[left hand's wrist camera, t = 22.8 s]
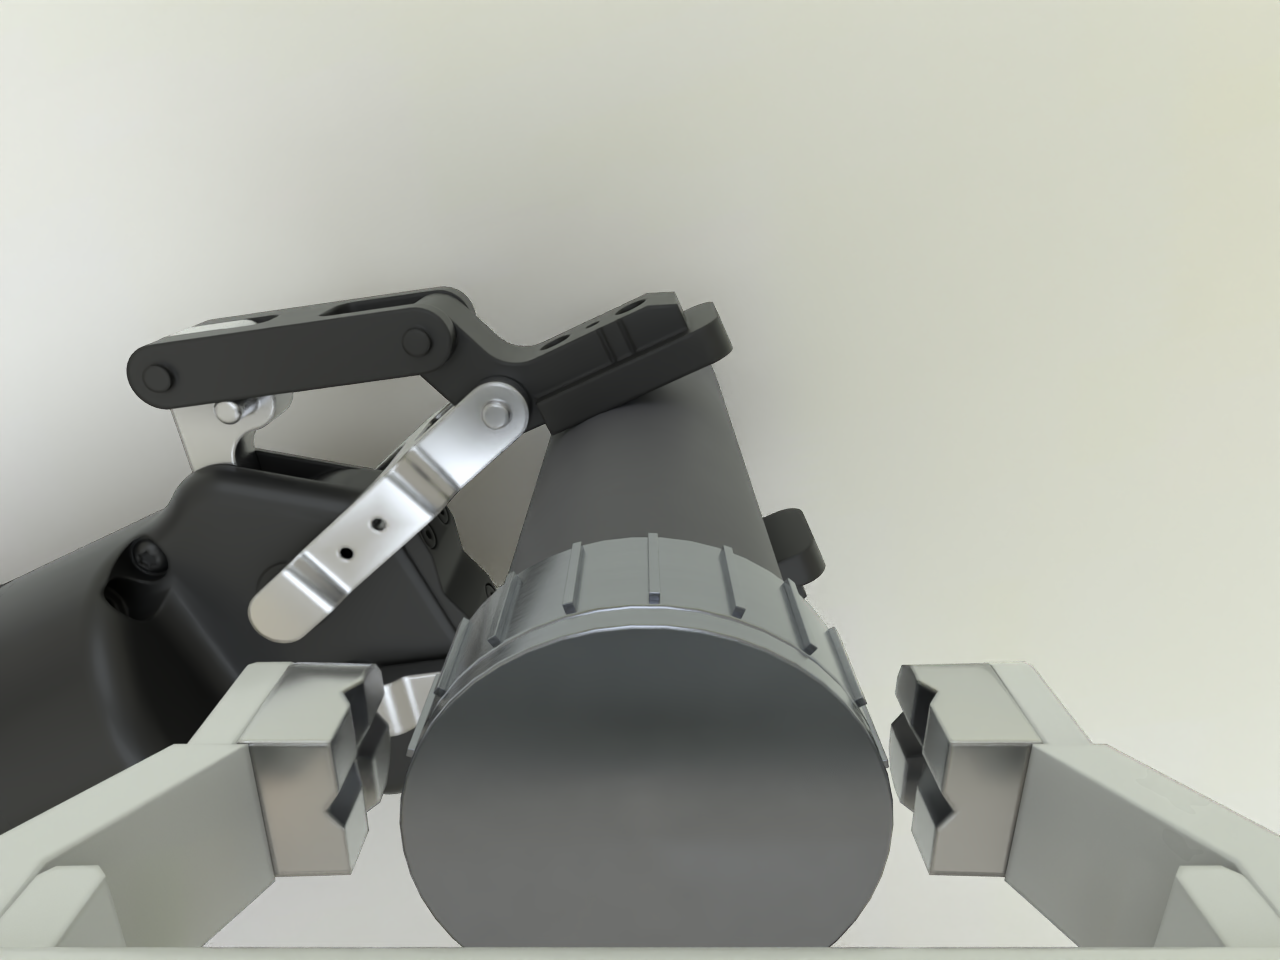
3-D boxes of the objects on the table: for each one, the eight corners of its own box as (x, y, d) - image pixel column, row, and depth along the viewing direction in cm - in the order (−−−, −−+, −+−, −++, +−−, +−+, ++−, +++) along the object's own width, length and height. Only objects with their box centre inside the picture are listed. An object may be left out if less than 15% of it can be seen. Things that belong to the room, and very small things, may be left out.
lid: (625, 938, 12) (623, 1082, 10) (345, 703, 10) (284, 819, 9) (937, 738, 11) (999, 861, 9) (667, 439, 9) (675, 511, 7)
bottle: (734, 454, 24) (864, 877, 10) (589, 489, 24) (522, 944, 11) (699, 307, 23) (796, 566, 9) (546, 347, 23) (399, 659, 9)
